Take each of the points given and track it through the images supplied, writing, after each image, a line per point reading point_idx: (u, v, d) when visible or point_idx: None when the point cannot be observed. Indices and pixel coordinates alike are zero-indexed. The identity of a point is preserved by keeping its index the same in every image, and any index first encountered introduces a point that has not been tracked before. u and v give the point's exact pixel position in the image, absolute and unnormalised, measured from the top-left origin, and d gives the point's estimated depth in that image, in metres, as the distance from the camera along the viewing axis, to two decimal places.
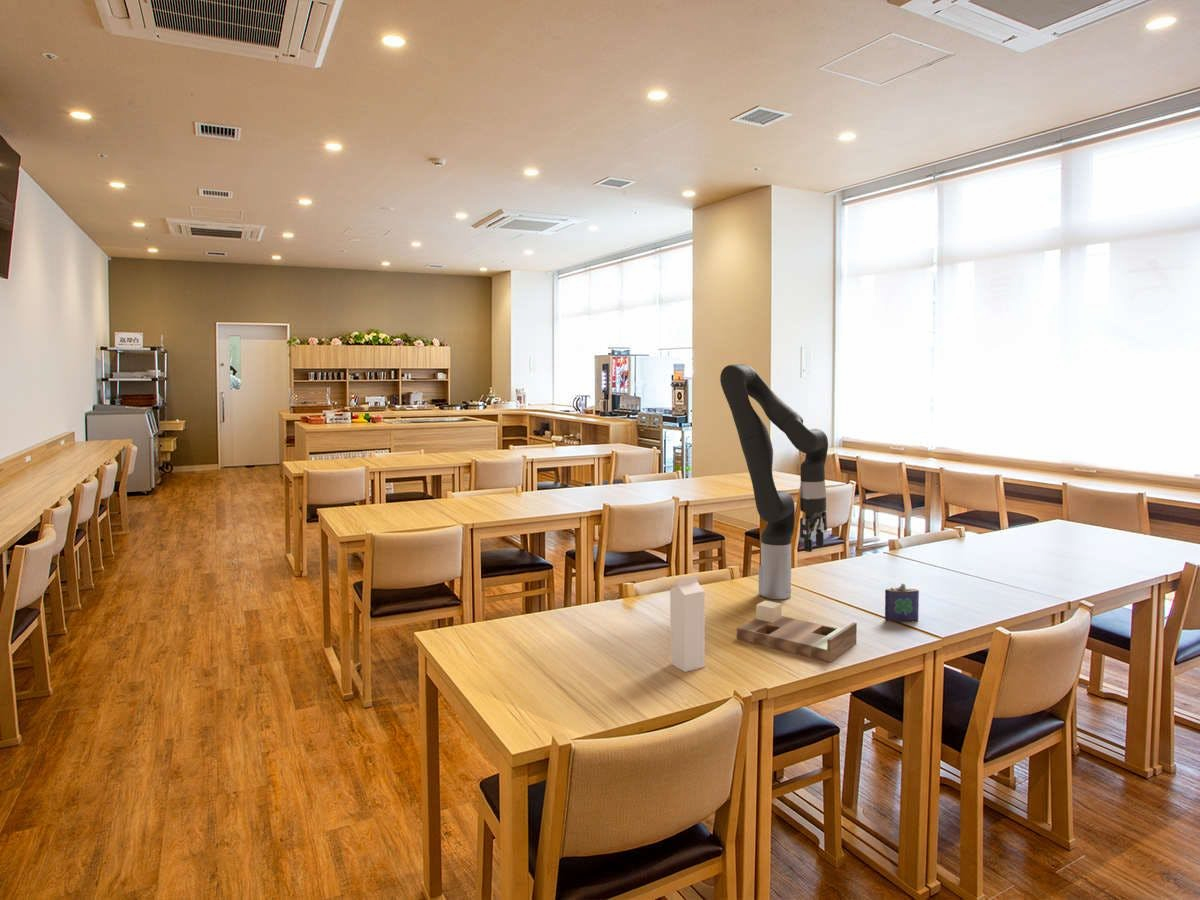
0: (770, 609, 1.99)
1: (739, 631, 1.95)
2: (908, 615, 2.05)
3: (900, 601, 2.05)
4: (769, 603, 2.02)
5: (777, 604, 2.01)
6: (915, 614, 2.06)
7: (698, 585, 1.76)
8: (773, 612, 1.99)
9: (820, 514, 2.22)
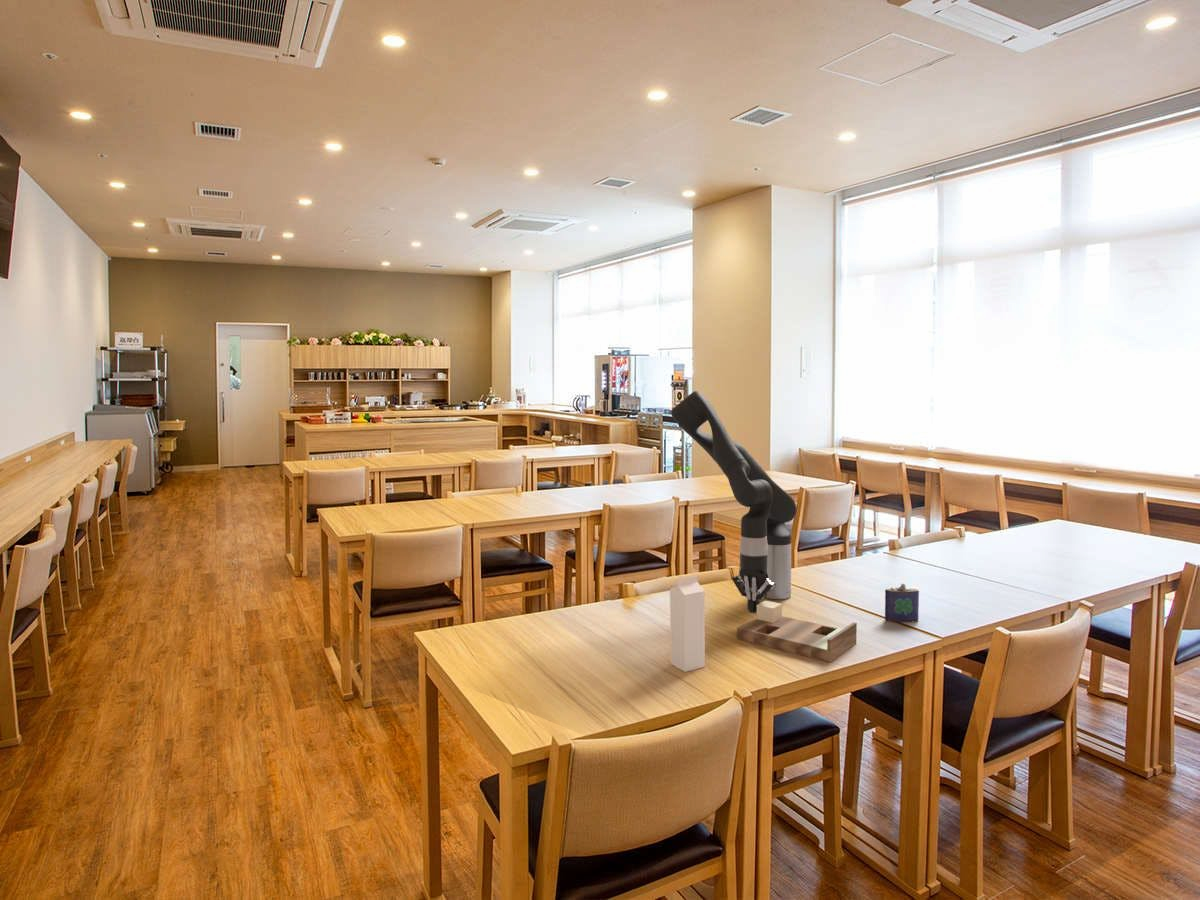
0: (770, 609, 1.99)
1: (739, 631, 1.95)
2: (908, 615, 2.05)
3: (900, 601, 2.05)
4: (769, 603, 2.02)
5: (777, 604, 2.01)
6: (915, 614, 2.06)
7: (698, 585, 1.76)
8: (773, 612, 1.99)
9: None
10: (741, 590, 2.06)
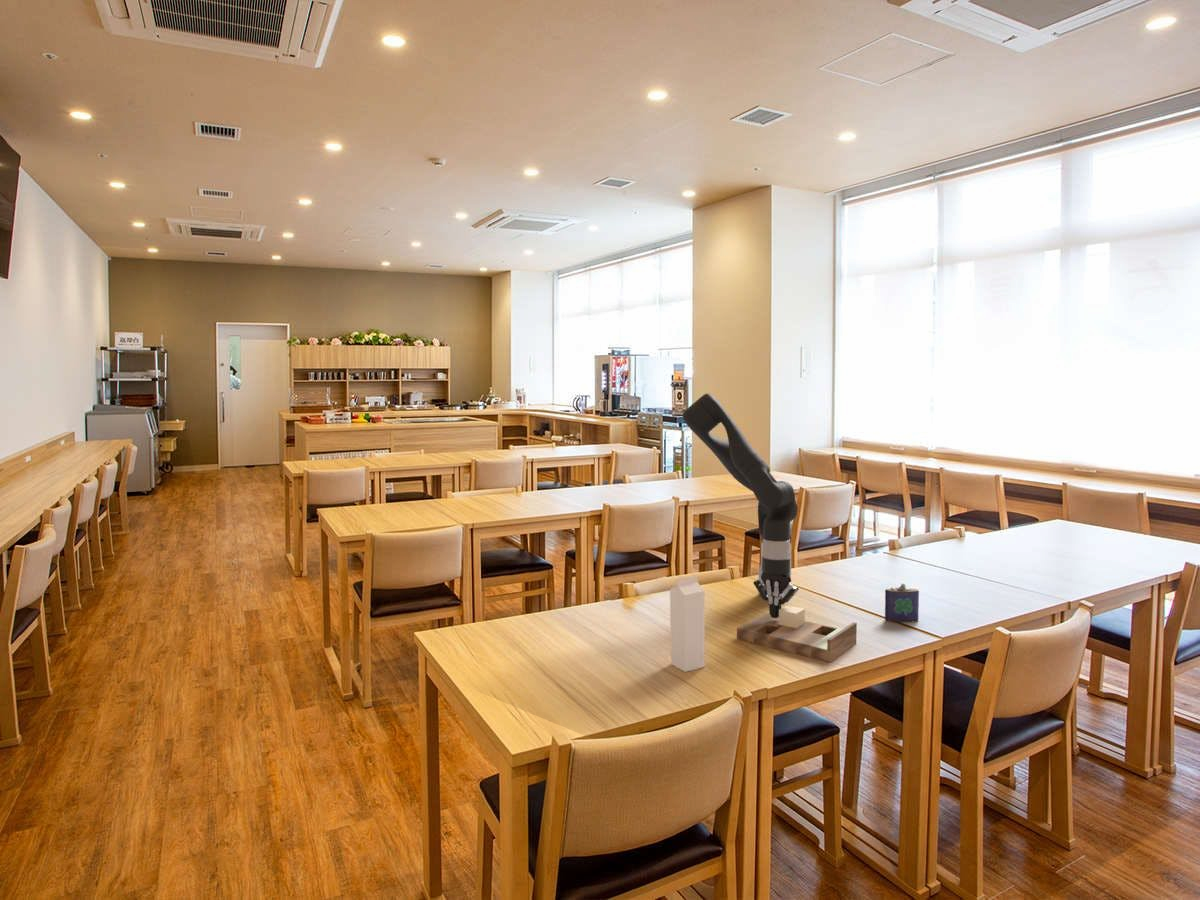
0: (793, 615, 1.94)
1: (739, 631, 1.95)
2: (908, 615, 2.05)
3: (900, 601, 2.05)
4: (792, 608, 1.98)
5: (800, 609, 1.97)
6: (915, 614, 2.06)
7: (698, 585, 1.76)
8: (796, 617, 1.94)
9: None
10: (763, 594, 2.01)
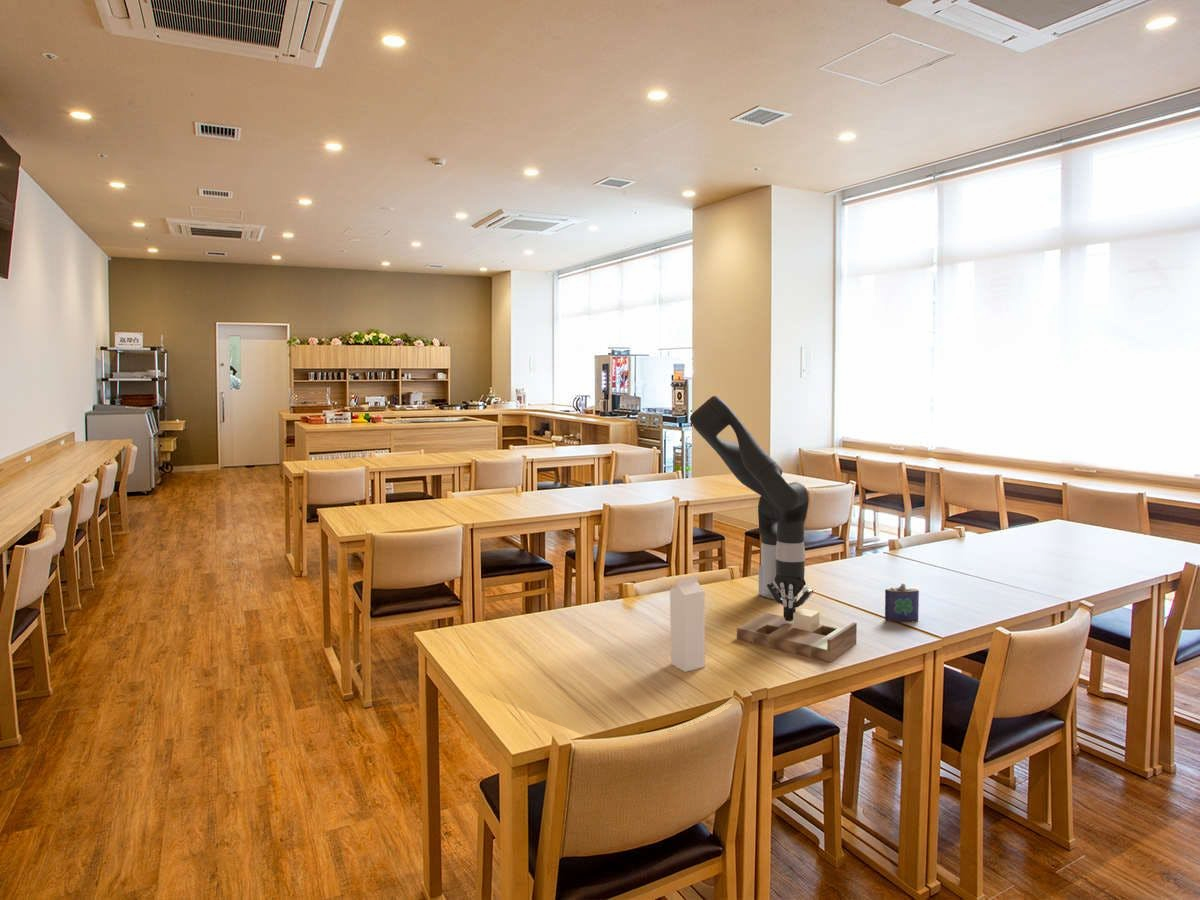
0: (808, 618, 1.91)
1: (739, 631, 1.95)
2: (908, 615, 2.05)
3: (900, 601, 2.05)
4: (806, 611, 1.95)
5: (815, 612, 1.94)
6: (915, 614, 2.06)
7: (698, 585, 1.76)
8: (811, 620, 1.91)
9: None
10: (777, 597, 1.98)
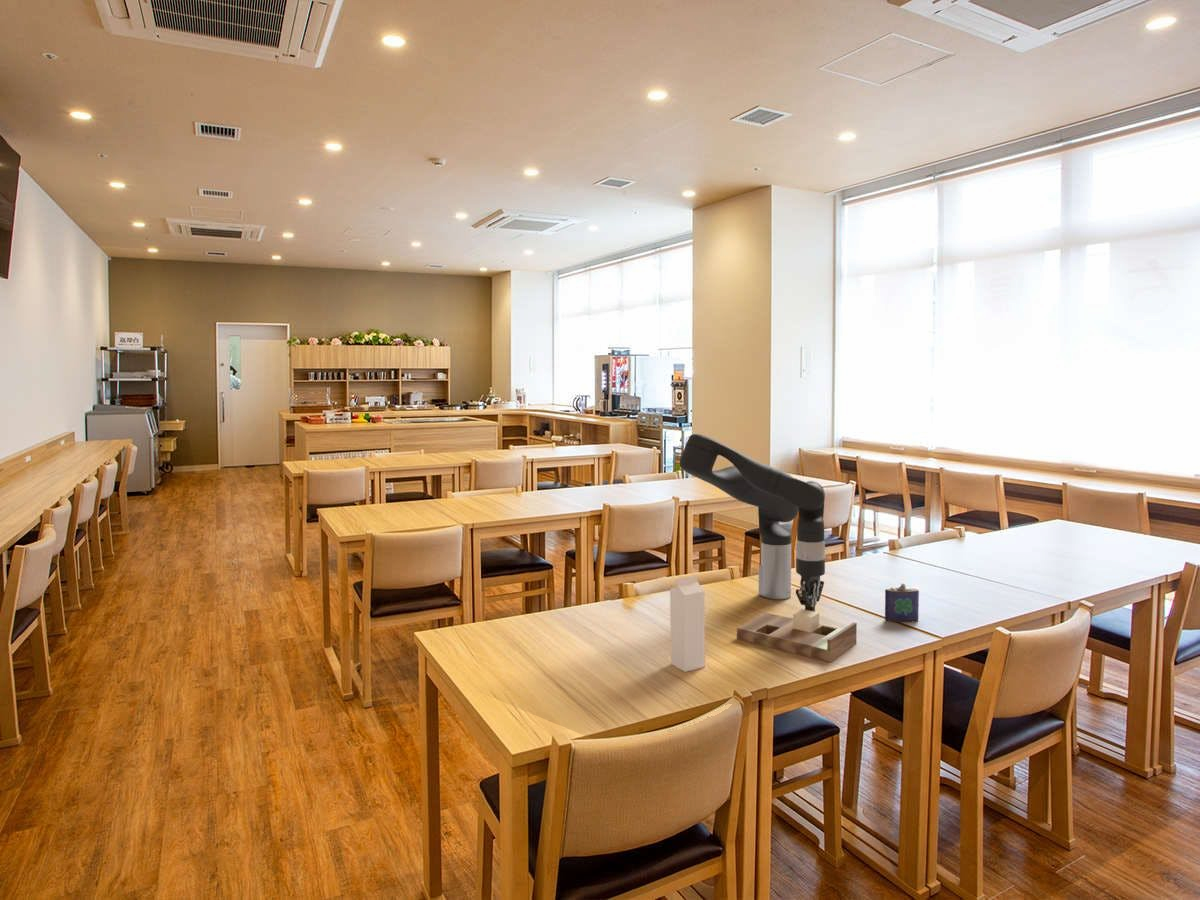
0: (808, 619, 1.91)
1: (739, 631, 1.95)
2: (908, 615, 2.05)
3: (900, 601, 2.05)
4: (806, 612, 1.94)
5: (815, 613, 1.93)
6: (915, 614, 2.06)
7: (698, 585, 1.76)
8: (811, 621, 1.91)
9: None
10: (809, 601, 1.95)
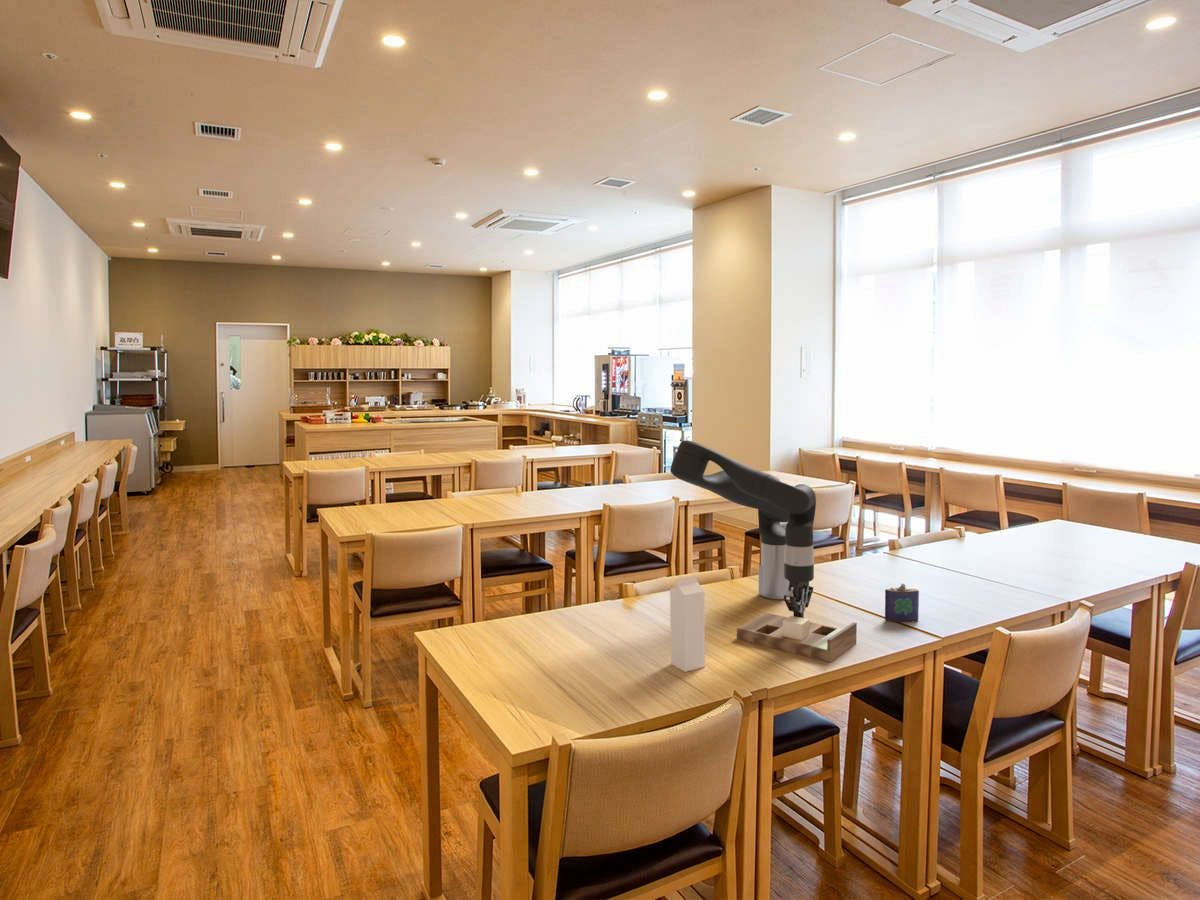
0: (799, 626, 1.85)
1: (739, 631, 1.95)
2: (908, 615, 2.05)
3: (900, 601, 2.05)
4: (796, 619, 1.89)
5: (805, 620, 1.88)
6: (915, 614, 2.06)
7: (698, 585, 1.76)
8: (802, 628, 1.85)
9: None
10: (797, 607, 1.90)
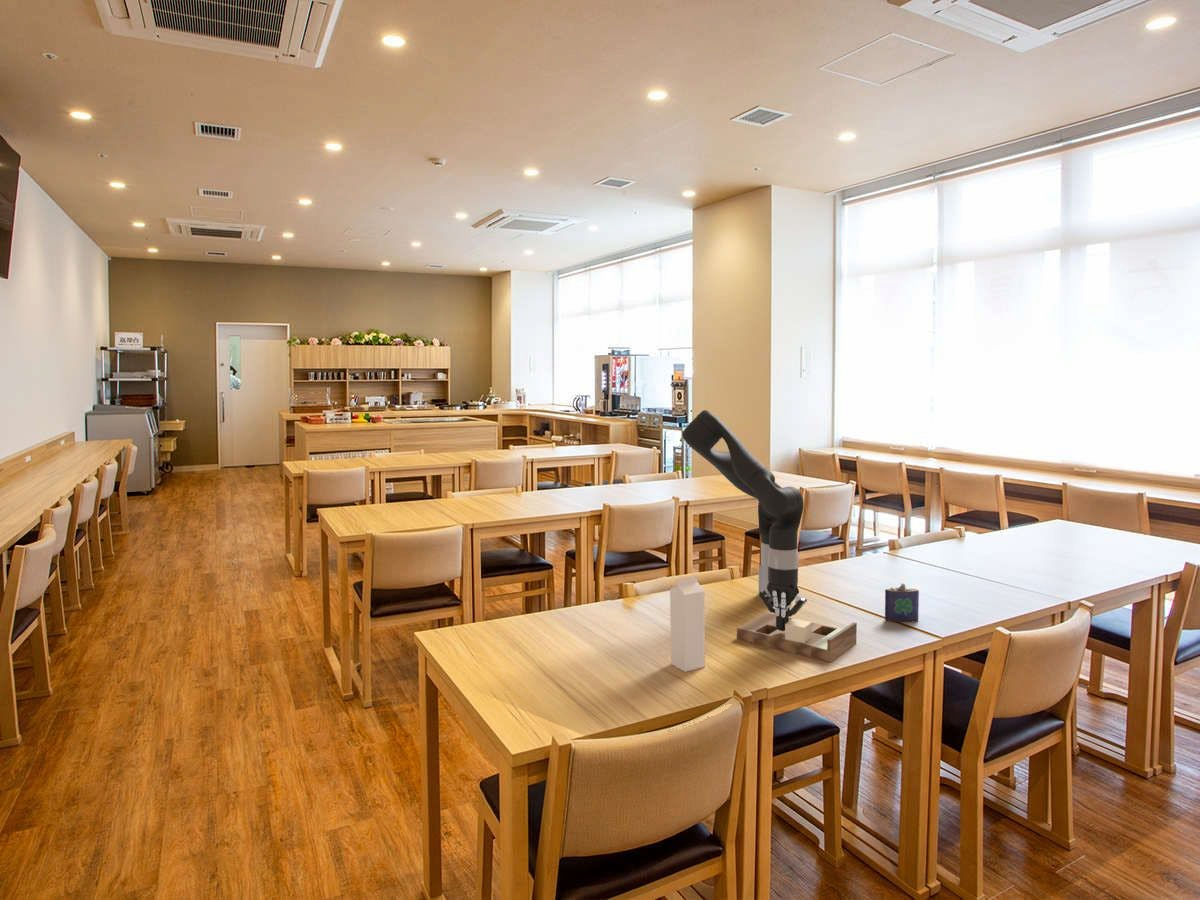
0: (801, 629, 1.83)
1: (739, 631, 1.95)
2: (908, 615, 2.05)
3: (900, 601, 2.05)
4: (798, 622, 1.87)
5: (807, 623, 1.86)
6: (915, 614, 2.06)
7: (698, 585, 1.76)
8: (804, 631, 1.83)
9: None
10: (769, 606, 1.91)
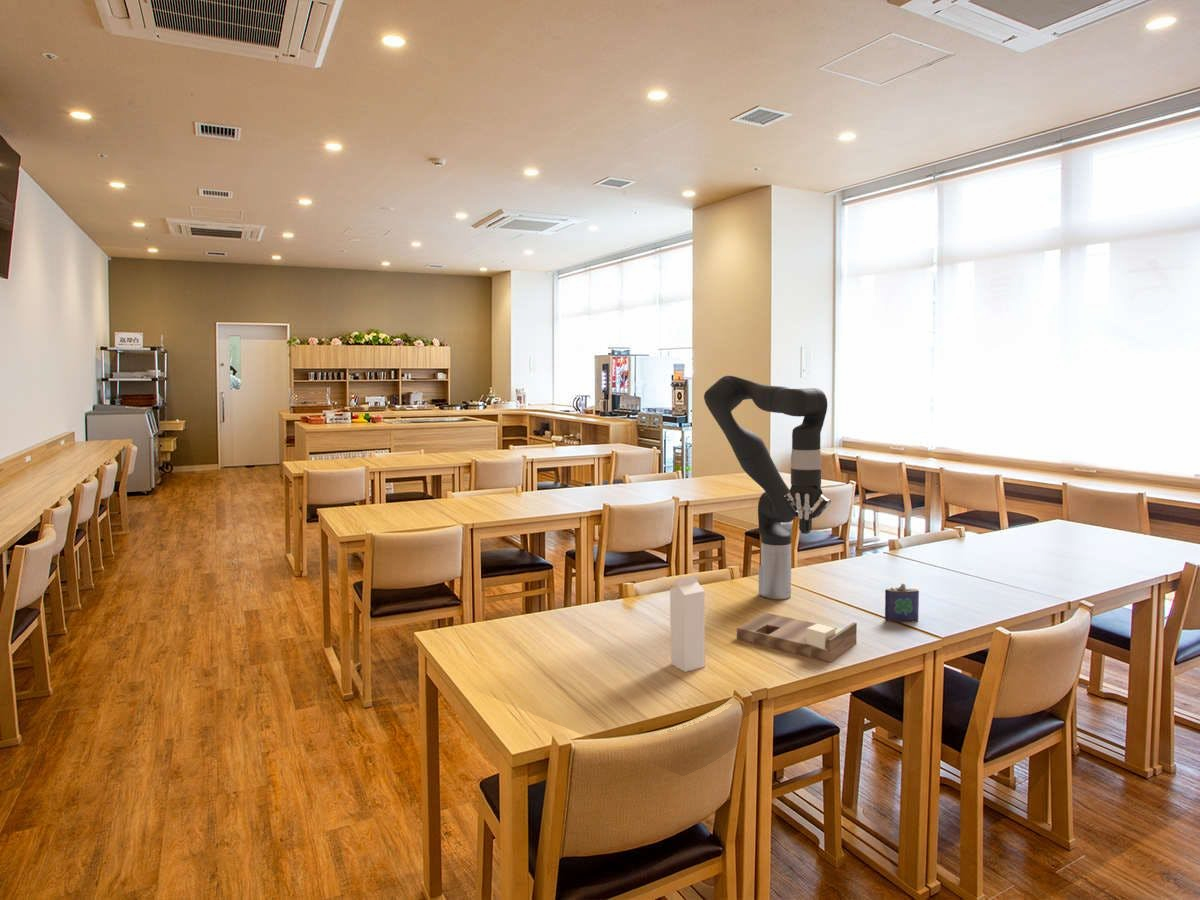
0: (822, 634, 1.79)
1: (739, 631, 1.95)
2: (908, 615, 2.05)
3: (900, 601, 2.05)
4: (821, 627, 1.83)
5: (830, 628, 1.82)
6: (915, 614, 2.06)
7: (698, 585, 1.76)
8: (825, 637, 1.79)
9: None
10: (792, 509, 1.90)
